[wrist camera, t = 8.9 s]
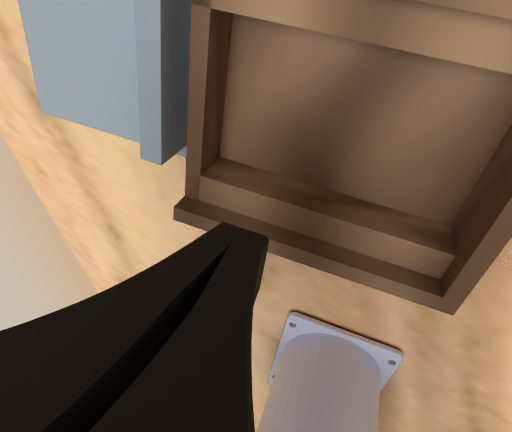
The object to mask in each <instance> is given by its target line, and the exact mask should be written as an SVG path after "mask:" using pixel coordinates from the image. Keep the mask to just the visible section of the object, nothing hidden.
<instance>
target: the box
mask: <svg viewBox="0 0 512 432" xmlns="http://www.w3.org/2000/svg"><path fill="white" fill-rule="evenodd" d="M174 220H176V221H179V222H182V223H185V224H188V225H191V226H194V227H196V228H199V229H202V230H205V231H209V230H211V229H212V228H214V227H215V226H217V225H218V224H220V223H222V222H225V223H228V224H231V225H234V226H238V227H241V228H244V229H247V230H250V231H253V232H256V233H259V234H262V235H265V236H267V238H268V239H269V245H268V250H267V252H269V253H272V254H275V255H278V256H281V257H284V258H287V259H290V260H293V261H296V262H298V263H301V264H304V265H307V266H310V267H313V268H316V269H319V270H322V271H325V272H328V273H331V274H333V275H336V276H339V277H342V278H345V279H348V280H351V281H354V282H357V283H360V284H363V285H366V286H368V287H371V288H374V289H377V290H380V291H383V292H386V293H389V294H392V295H395V296H398V297H400V298H403V299H406V300H409V301H412V302H415V303H418V304H421V305H424V306H427V307H430V308H433V309H435V310H438V311H441V312H444V313H447V314H450V315H454V314H455V312H456V311H457V310H458V308H459V307H460V306H461V304H462V303H463V302H464V300H465V299H466V298H467V296H468V295H469V294H470V292H471V291H472V290H473V288H474V287H475V286H476V284H477V283H478V282H479V280H480V279H481V277H482V276H483V275H484V273H485V272H486V271H487V269H488V268H489V267H490V265H491V264H492V263H493V261H494V260H495V259H496V257H497V256H498V255H499V253H500V252H501V251H502V249H503V248H504V247H505V245H506V244H507V243H508V241H509V240H510V239H511V237H512V0H192V6H191V35H190V65H189V94H188V123H187V153H186V182H185V196H184V197H183V198H182V199H181V200H180V201H179V202H178V203H177V204H176V205H175V206H174Z"/></svg>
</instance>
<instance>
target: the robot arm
mask: <svg viewBox="0 0 512 432" xmlns="http://www.w3.org/2000/svg"><path fill="white" fill-rule="evenodd" d="M268 245H269V239H268V238H267V236H265V235H262V234H259V233H256V232H253V231H250V230H247V229H244V228H241V227H238V226H234V225H231V224H228V223H225V222H222V223H220V224H218V225H217V226H215V227H214V228H212V229H211V230H209V231H208V232H206V233H205V234H203V235H202V236H200V237H199V238H197V239H196V240H194V241H193V242H191V243H189V244H188V245H186V246H185V247H183V248H182V249H180V250H178V251H177V252H175V253H173V254H172V255H170V256H168V257H167V258H165V259H163V260H162V261H160V262H158V263H157V264H155V265H153V266H151V267H149V268H147V269H146V270H144V271H142V272H140V273H138V274H136V275H135V276H133V277H131V278H129V279H127V280H125V281H123V282H121V283H119V284H117V285H115V286H113V287H111V288H109V289H107V290H105V291H103V292H100V293H98V294H96V295H94V296H92V297H89V298H87V299H85V300H83V301H80V302H78V303H75V304H73V305H70V306H68V307H65V308H63V309H60V310H58V311H55V312H52V313H50V314H47V315H45V316H42V317H39V318H36V319H34V320H31V321H29V322H26V323H23V324H20V325H17V326H14V327H11V328H8V329H5V330H2V331H0V432H255V427H254V414H253V400H252V372H251V339H252V316H253V306H254V302H255V299H256V297H257V294H258V291H259V288H260V284H261V279H262V274H263V269H264V264H265V260H266V255H267V250H268ZM402 360H403V354H402V352H401V351H399V350H397V349H394V348H392V347H389V346H386V345H384V344H381V343H378V342H375V341H373V340H370V339H367V338H365V337H362V336H359V335H356V334H354V333H351V332H348V331H346V330H343V329H340V328H338V327H335V326H332V325H329V324H327V323H324V322H321V321H319V320H316V319H313V318H310V317H308V316H305V315H302V314H300V313H297V312H291V313H289V315H288V318H287V321H286V324H285V327H284V330H283V334H282V337H281V340H280V343H279V346H278V349H277V353H276V356H275V359H274V362H273V365H272V369H271V372H270V375H269V378H268V383H269V385H271V389H270V392H269V395H268V398H267V401H266V404H265V407H264V411H263V414H262V417H261V420H260V423H259V426H258V429H257V432H378V417H379V399H380V392H381V390H382V389H383V388H384V386H385V385H386V383H387V382H388V380H389V379H390V378H391V376H392V375H393V373H394V372H395V370H396V369H397V367H398V366H399V365H400V363H401V362H402Z"/></svg>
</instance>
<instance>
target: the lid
mask: <svg viewBox="0 0 512 432" xmlns="http://www.w3.org/2000/svg"><path fill="white" fill-rule="evenodd" d="M18 3H19V8H20V13H21V18H22V22H23V27H24V32H25V37H26V41H27V46H28V51H29V55H30V60H31V65H32V70H33V74H34V79H35V84H36V88H37V93H38V98H39V103H40V107H41V112H43V113H46V114H49V115H52V116H56V117H59V118H62V119H65V120H68V121H72V122H75V123H78V124H81V125H85V126H88V127H91V128H94V129H97V130H101V131H104V132H107V133H110V134H113V135H117V136H120V137H123V138H126V139H129V140H133V141H136V142H139V143H140V151H141V159H143V160H147V161H150V162H153V163H156V164H159V165H162V164H164V163H165V162H166V161H167V160H169V159H170V158H171V157H173V156H174V155H175V154H177V155H181V156H184V157H186V153H187V123H188V94H189V65H190V35H191V6H192V0H18Z"/></svg>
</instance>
